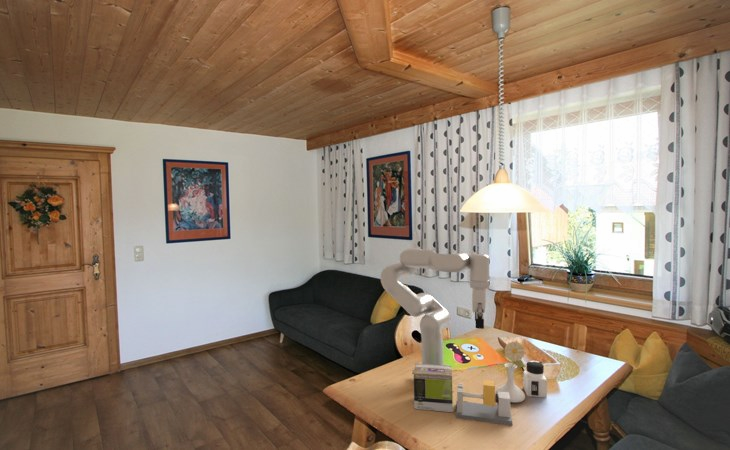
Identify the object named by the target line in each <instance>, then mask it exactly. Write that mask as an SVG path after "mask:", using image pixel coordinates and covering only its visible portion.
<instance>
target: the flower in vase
mask: <svg viewBox="0 0 730 450" xmlns="http://www.w3.org/2000/svg"><path fill="white" fill-rule="evenodd" d="M525 350H526V349H525V346H524V345H523V344H522V343H520V342H519V341H517V340H515V341H511V342H508V343H507V344H506V345H505V347H504V354H505V355H504V358H505V359H506V360H507V361H508V363H507V362H505V363H504V365H503V366H504V367H505V369H506V372H507V373H506V374H507V380H506V382H505V383H504V384H502V385H500V386H499V387H498V388H497V389H495V394H498V391H500V392H509V396H510V403H521V402H523V401H524V400H525V399H526V393H524V392H525V391H523V390H522V389H521V388H519V387H518V386H517V385H516V384H515V381H514V375H515V371H516V369H517V368H518V367H519V368H526V366H525V364H524V362H523V360H522V359H523V358H524V357H525V354H526V352H525ZM515 363H516V364H515Z"/></svg>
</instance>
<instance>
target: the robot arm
mask: <svg viewBox="0 0 730 450" xmlns="http://www.w3.org/2000/svg"><path fill="white" fill-rule="evenodd" d="M399 261H400V262H397V263H394V264H389V265H387V266H385V267H384V268H383V269H382V271H381V273H380V283H381V286H382V288H383V289H384V290H385V292H386V293H387V294H388V295H390V296H391V297H392V298H393V299H394V300H395V301H396V302H397V303H398V304H399V305H400V306H401V307H402V308H403V309H404V310H405V311H406V312H407V314H409V315H410V316H411V317H415V318H417V317H421V316H422V315H423V316H422V317H421V318H420V322H419V330H420V338H421V364H429V365H444V339H443V337H442V331H443V330H445V329H446V328H448V327H449V326H450V325H451V321H452V317H451V314H450V313H449V311H448V310H447V309H446V308H445V307H444V306H443V305H441V303H440V302H439V301H437V300H436V299H435V298H434V296H432V295H430V294H428V293H426V292H420V293H417V294H416V293H415V292H413V291H412V290H411V289H410V287H408V286H407V285H405V284H404V283H402V282H401V281H403V280H406V279H408V278H409V277H411V276H412V275H413V274H414V273H415V272H416V271H418V269H425V270H429V269H430V270H432V271H437V272H441V273H442V272H445V273H460V272H462V271H466V270H467V271H468V270H469V288H471V289H472V295H471V296H472V297H471V303H472V304H471V309H472V310H471V311H472V312H473V313H474V321H475V329H480V330H484V329H485V318H484V314H485V312H486V302H487V299H486V298H487V290H489V289H490V256H489V255H488V254H485V253H472V252H469V251H468V252H467V251H461V252H457V253H454V254H450V253H449V254H448V253H446V254H445V253H438V252H436V251H435V250H433V249H422V248H420V247H411V248H407V249H404V250H403V251H402V252H401V253H400V254H399ZM411 373H412V375H414V369H412V372H411Z"/></svg>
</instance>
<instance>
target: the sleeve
mask: <svg viewBox="0 0 730 450" xmlns="http://www.w3.org/2000/svg"><path fill="white" fill-rule="evenodd" d="M482 382H483V386H482V388H483V389H482V394H484V399H482V401H483V403H482V404H484V405H490V406H495V405H496V400H495V394H496V384H495V380H487V379H483V381H482Z"/></svg>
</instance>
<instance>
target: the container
mask: <svg viewBox="0 0 730 450" xmlns="http://www.w3.org/2000/svg"><path fill="white" fill-rule="evenodd" d="M544 369H545V368H544V364H543V363H541V362H540V361H537V360H529V361H527V362H526V370H523V379H522V381H523V382H522V383H523V384H522V385H523V386H522V387H523V390H524V392H525V395H526V396H527V397H534V398H545V399H547V395H548V393H547V392H548V380H547V378H546V376H545V374H544Z"/></svg>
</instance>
